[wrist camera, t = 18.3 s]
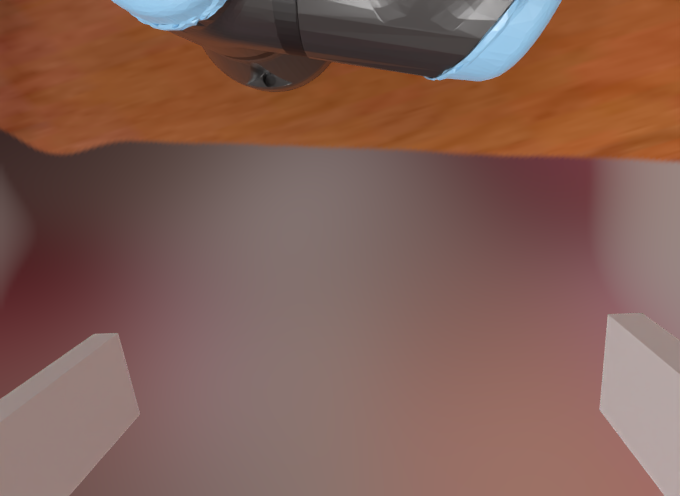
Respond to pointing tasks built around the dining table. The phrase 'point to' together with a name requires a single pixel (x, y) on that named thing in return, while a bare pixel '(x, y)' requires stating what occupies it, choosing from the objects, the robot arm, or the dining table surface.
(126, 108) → the dining table surface
